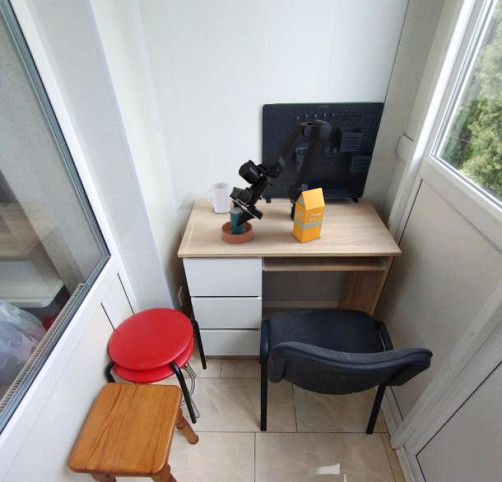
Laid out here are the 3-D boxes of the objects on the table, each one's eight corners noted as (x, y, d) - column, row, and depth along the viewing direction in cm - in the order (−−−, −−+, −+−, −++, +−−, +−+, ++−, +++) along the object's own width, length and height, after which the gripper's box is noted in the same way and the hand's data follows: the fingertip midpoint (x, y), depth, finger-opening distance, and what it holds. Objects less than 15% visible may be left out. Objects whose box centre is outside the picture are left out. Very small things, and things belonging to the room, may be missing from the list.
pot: (252, 228, 127) (252, 219, 124) (252, 244, 117) (252, 235, 114) (223, 229, 127) (222, 220, 124) (221, 245, 118) (220, 235, 114)
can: (243, 231, 123) (242, 206, 115) (243, 238, 120) (242, 212, 112) (231, 232, 124) (229, 206, 115) (231, 238, 120) (229, 212, 112)
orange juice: (292, 234, 123) (296, 188, 109) (309, 229, 126) (316, 184, 112) (301, 242, 118) (307, 195, 104) (319, 237, 120) (327, 191, 106)
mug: (205, 213, 139) (202, 188, 130) (209, 205, 145) (206, 181, 136) (229, 213, 138) (227, 189, 129) (231, 205, 144) (230, 182, 135)
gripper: (231, 171, 113) (210, 204, 117) (256, 187, 101) (231, 223, 105) (249, 186, 121) (228, 217, 125) (273, 202, 110) (249, 236, 113)
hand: (233, 222), depth 117 cm, fingers closed on can, 5 cm apart
